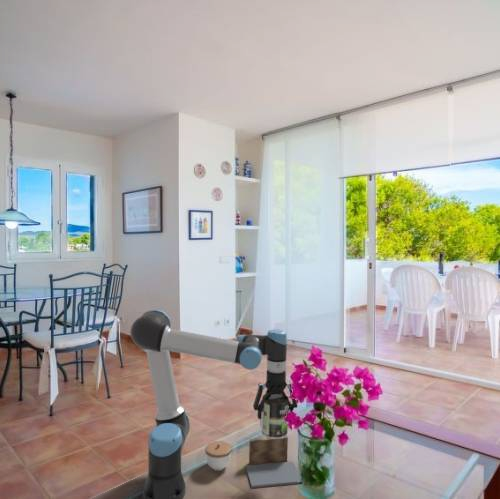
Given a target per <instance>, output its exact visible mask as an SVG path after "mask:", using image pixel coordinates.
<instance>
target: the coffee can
mask: <svg viewBox="0 0 500 499" xmlns="http://www.w3.org/2000/svg"><path fill="white" fill-rule="evenodd" d="M264 395H265V394H262V396H261V400H262V399H263V401H264V408H263V409H262V410H263V412H264V415H263V428H261V434H262V435H263V436H264V438H270V439H282V438H284V437H286V436H287V437H288V434H289V433H288V431H289V430H288V428H289V426H288V425H287V423H286V422H285V420H284V418H285V416H286V413H287V412H288V407H289V406H288V401H290V400H289V396H288V395H286V396H287V399H284V397H283V395H282V394H274V395H271V397H269V399H268V400H265V399H264Z"/></svg>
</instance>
